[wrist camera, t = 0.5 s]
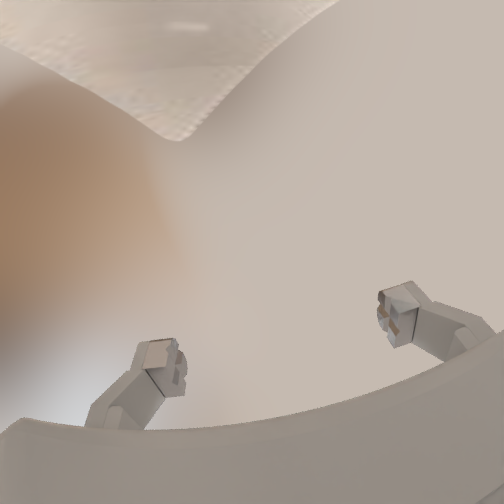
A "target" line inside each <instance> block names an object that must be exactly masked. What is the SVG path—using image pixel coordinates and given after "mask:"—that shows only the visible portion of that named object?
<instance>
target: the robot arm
mask: <svg viewBox="0 0 504 504" xmlns="http://www.w3.org/2000/svg"><path fill="white" fill-rule="evenodd" d="M378 301H379V302H380V305H379V307H378V308H377V316H378V322H379V324H380V326H381V328H382V330H384V331H386V332H388V335H387V338H388V340H389V341H390V343H391V344H392V346H393V348H396V347H400V346H402V345H405V344H408V343H411V342H412V343H413V344H414V345H416V346H418V347H420V348H421V349H423V350H425V351H426V352H428V353H430V354H432V355H433V356H435V357H437V358H438V359H440V360H442V361H444V363H442V364H440V365H438V366H436V367H434V368H432V369H429V370H427V371H425V372H422V373H420V374H418V375H415V376H413V377H411V378H408V379H406V380H403V381H401V382H398V383H396V384H393V385H390V386H388V387H385V388H382V389H380V390H377V391H374V392H371V393H368V394H365V395H362V396H359V397H356V398H352V399H349V400H346V401H342V402H339V403H335V404H332V405H328V406H325V407H321V408H317V409H313V410H308V411H305V412H300V413H295V414H291V415H286V416H281V417H276V418H271V419H265V420H259V421H254V422H246V423H239V424H232V425H224V426H214V427H203V428H190V429H170V430H144V428H145V427H146V425H147V424H148V423H149V421H150V420H151V418H152V417H153V416H154V414H155V413H156V411H157V410H158V409H159V407H160V406H161V404H162V403H163V402H164V400H165V398H167V397H177V396H184V394H185V387H186V382H185V380H184V379H183V378H184V377H185V376H186V375H187V361H186V358H185V356H184V354H183V352H181V351H180V350H178V345H179V344H178V343H177V341H176V339H175V338H167V339H159V340H151V341H144V342H140V343H139V344H138V346H137V350H136V353H135V356H134V359H133V362H132V365H131V369H130V371H126V372H125V373H124V374H123V375H122V376H121V377H120V378H119V379H118V380H117V381H116V382H115V383H114V384H112V385H111V386H110V387H109V388H108V389H107V390H106V391H105V392H104V393H103V394H102V395H101V396H100V397H99V398H98V399H97V400H96V401H95V402H94V403H93V404H92V405H91V407H90V410H89V413H88V416H87V420H86V423H85V426H84V427H81V426H73V425H65V424H57V423H51V422H45V421H40V420H35V419H31V418H20V419H19V420H17V421H16V422H14V423H13V424H12V425H10V426H9V427H8V428H7V429H6V430H5V431H3V432H2V433H1V434H0V504H504V330H502V331H501V332H499V333H497V334H496V333H495V332H494V331H493V330H492V328H491V327H490V326H489V325H488V324H487V323H486V322H485V321H484V320H483V318H482V317H479V316H477V315H474V314H471V313H468V312H465V311H462V310H460V309H457V308H454V307H451V306H448V305H445V304H442V303H439V302H436V301H434V302H432V301H431V300H430V299H429V298H428V297H427V296H426V294H425V293H424V292H423V291H422V290H421V289H420V288H419V287H418V286H417V285H416V284H415V283H414V282H413V281H409V282H406V283H403V284H401V285H397V286H394V287H391V288H388V289H385V290H382V291H379V293H378Z"/></svg>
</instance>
